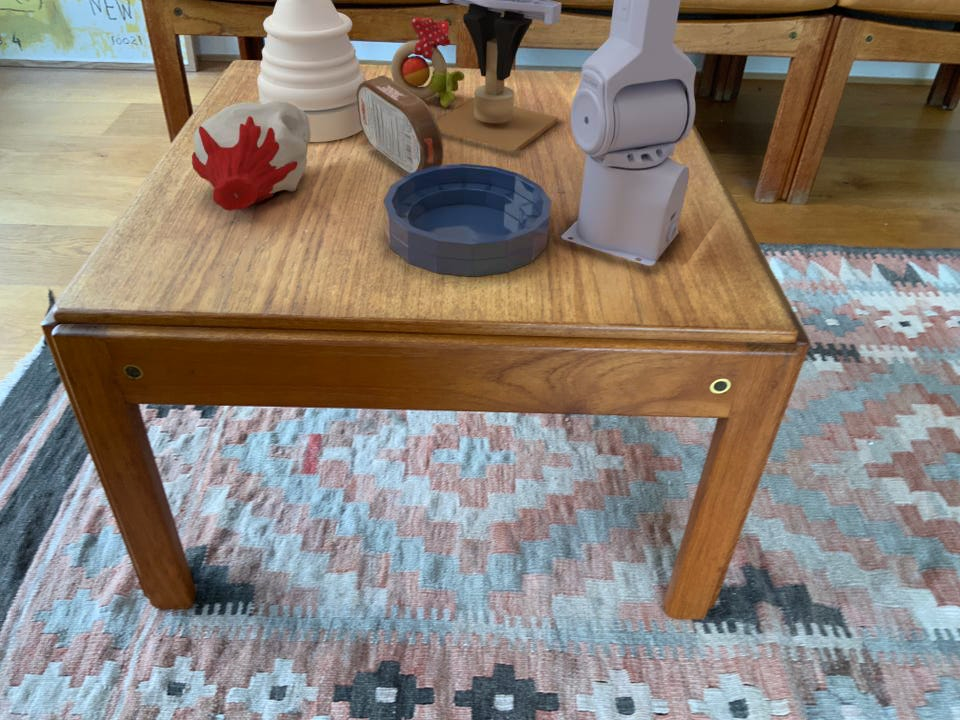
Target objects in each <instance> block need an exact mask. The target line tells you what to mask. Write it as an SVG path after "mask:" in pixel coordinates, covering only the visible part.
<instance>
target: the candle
mask: <svg viewBox="0 0 960 720" xmlns="http://www.w3.org/2000/svg"><path fill="white" fill-rule="evenodd" d="M310 133H311V132H310V125H309V119H308V117H307V114H306V113H305V112H304V111H303V110H301V109H299V108H297V107H296V106H294V105H292V104H290V103H287V102H283V101H273V102H269V103H265V104H262V103H260V101H259V102H258V101H257V102H256V101H255V102H254V101H243V102H238V103H233V104H230V105H228V106H225V107H224V108H222V109H220V110H219V111H218V112H217V113H215V114H214V115H211V116H210V117H208V118H207V119H206V120H204V121H203V122H202V123H200V125H199V126H198V127H197V129H196V130H195V131H194V135H193V148H194V151H193V152H192V155H191V164H192V169H193V170H194V171H195V172H196V174H197V175H198V176H199V177H200V178H201V179H202V180H203V179H204V180H205V181H206V182H207V183H208V185H209V186H210V187H211V188H212V190H213V193H212V199H213V202H214V203H215V204H216V205H218V206H219V207H222V209H224V210H226V211H231V212H232V211H235V210H236V211H237V210H244V209H246V208H247V207H250V206H251V205H252V204H254V203H255V204H256V203H262V202H264V200H268V199H269V198H272V197H273V196H274V195H275V193H277V192H281V191H288V192H294V191H296V189H297V187H298V185H299V182H300V180H301V179H302V177H303V174H304V171H305V168H306V165H307V163H308V159H307V158H308V157H307V156H308V146H309V143H311V142H310Z"/></svg>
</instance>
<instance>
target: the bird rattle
mask: <svg viewBox="0 0 960 720" xmlns="http://www.w3.org/2000/svg"><path fill="white" fill-rule="evenodd" d="M410 24H411V26H412V29H413V31H414V33H415V35H416V36H417V38H418V39H414V40H410V41H407V42H405V43H403V44H402V45H401V46H399V48H398V49H397V50H396V51H395V52H394V54H393V56H392V59H391V63H390V71H391V72H390V73H391V77H392V80H393V81H394V82H396V83H397V84H399V85H400V86H402V87H403V88H405V89H406V90H408V91H409V92H411V93H412V94H414V95H415V96H417V97H419V98H420V99H421V100H426V99H429V98H431V97H433V96H435V95H436V97H437V98H438V99H439V100H440V101H439V102H440V105H441V107H443V108H445V109H446V108H448V106H449V105H450V104H451V103H453V102H454V101H455V95H454V93H453V92H456V91H458V90H459V81H464V80H465V74H464V72H462V71H461V70H454V71H452V72H449V71H448V67H447V62H446V59H445V57H444V55H443V53H442V51H440V49H439V48H438V47H439V46H442V47H447V46H450V44H451V38H450V36H449V29H450V22H449V21H448V20H445V21H443V20H442V21H436V20H435V19H433V18H432V17H430V16H429V17H426V18H421V17H413V18H411V20H410ZM411 55H412V56H411ZM426 60H428V61H430V62H431V63H430V64H428V62H427V61H426ZM432 66H433V71H432V75H431V69H430V67H432ZM430 75H431V77H430ZM429 78H430V80H429ZM428 81H429V82H428ZM427 82H428V84H427V85H425V84H426V83H427ZM424 85H425V86H424Z"/></svg>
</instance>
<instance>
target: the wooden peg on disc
mask: <svg viewBox="0 0 960 720" xmlns="http://www.w3.org/2000/svg"><path fill="white" fill-rule="evenodd" d="M496 68H497V40H496V37H495V38H493V39H491V40H489V41H487V53H486V77H484V79H485V81H484V85H481V86H478V87H476V88H475V89H474V93H473V95H474V98H473V99H474V117H475V118H476V119H478V120H480V121H482V122H486V123H504V122H507V121H509V120H511V119H512V117H513V107H514V103H515V102H514V101H515V91H514V90H513V89H512V88H510V87H508V86H505V80H506V79H504V80H503V81H501V80H497V74H496Z"/></svg>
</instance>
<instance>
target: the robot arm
mask: <svg viewBox="0 0 960 720" xmlns="http://www.w3.org/2000/svg"><path fill="white" fill-rule="evenodd" d="M439 1H440V2H439V3H442V4H446V5H448V4H455V5H461V6H465V7H468V9H467V12H466V13H464V14H463V16H462V21H463V24H464V25H465V27H466V29H467V31H468V33H469V35H470V37H471V40H472V43H473V47H474V50H475V53H476V57H477V61H478V65H479V71H480V76H481V77H484V78H486V53H487V41H489V40H491V39H493V38H495V37H496V40H497V68H496V74H497V80H501V81H503V80H504V79H505V80H507V79H508V78H510V76H511V73H512V68H513V65H514V61H515V59H516V57H517V56H516V55H517V53H518V50H519V48H520V45H521V43H522V41H523V39H524V36H525V35H526V33H527V31H528V30H529V28H530V26H531V25H532V23H533V20H534V21H539V22H543V23H544V24H545V25H549V26H554V25H555V24H557V23H559V22H560V21H561V13H562V4H563V3H562V2H559V1H555V0H439ZM680 4H681V0H613V6H612V13H611V14H612V15H611V21H610V28H609V29H610V31H609V37H608V38H607V40H606V41H604V43H603V44H601V45H600V46H599V48H598V49H596V51H594V52H593V53H592V54H591V55H590V56H589V57H588V58H587V59H586V60H585V61H584V62H583V64H581V65H582V66H581V73H580V74H581V75H580V79H579V84H578V88H577V91H576V92H575V95H574V97H573V100H572V102H571V107H570V127H571V131H572V135H573V138H574V141H575V143H576V144H577V146H578V147H579V149H581V151H582V152H583V153H584V154H585V162H584V168H583V170H584V171H583V176H582V184H581V192H580V198H579V199H580V200H579V208H578V215H577V219H576V221H575V222H573V224H571V225H570V227H568V228H567V229H566V230H565V232H563V234H561V236H560V238H561V239H562V240H565V241H567V242H570V243H574V244H576V245H580V246H583V247H585V248H590V249H593V250H596V251H598V252H602V253H606V254H609V255H612V256H615V257H618V258H622V259H625V260H628V261H631V262H634V263H638V264H641V265H644V266H647V267H652V266H654V265H655V264H656V262H657V261H658V260H659V258H661V256H662V255H663V254H664V253H665V251H666V249H667V248H668V247H669V245H670V244H671V243H672V242H673V240H674V239H675V238H676V237H677V235H678V234H679V230H678V229H679V225H680V220H681V215H682V213H683V212H682V211H683V206H684V203H685V198H686V194H687V189H688V185H689V179H690V178H689V177H690V168H689V167H688V166H687V165H685V164H682V163H679V162H677V161H675V160H674V159H672V158H671V157H672V156H674V153H675V148H676V145H678V144H679V143H681V142H683V141H685V139H687V137H688V136H689V134H690V133H691V131H692V128H693V125H694V121H695V118H696V117H695V116H696V100H695V79H696V75H697V74H696V73H697V67H696V66H695V64H694V63H693V62H692V60H691V59H690V58H689V57H688V56H687V54H686V53H684V52H683V51H682V50H681V49H680V48H679V47H678V46H677V45H676V44H675V43H674V40H675V35H676V29H677V22H678V16H679V11H680ZM502 14H503V16H502ZM505 80H504V81H505ZM637 259H639V260H637Z"/></svg>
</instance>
